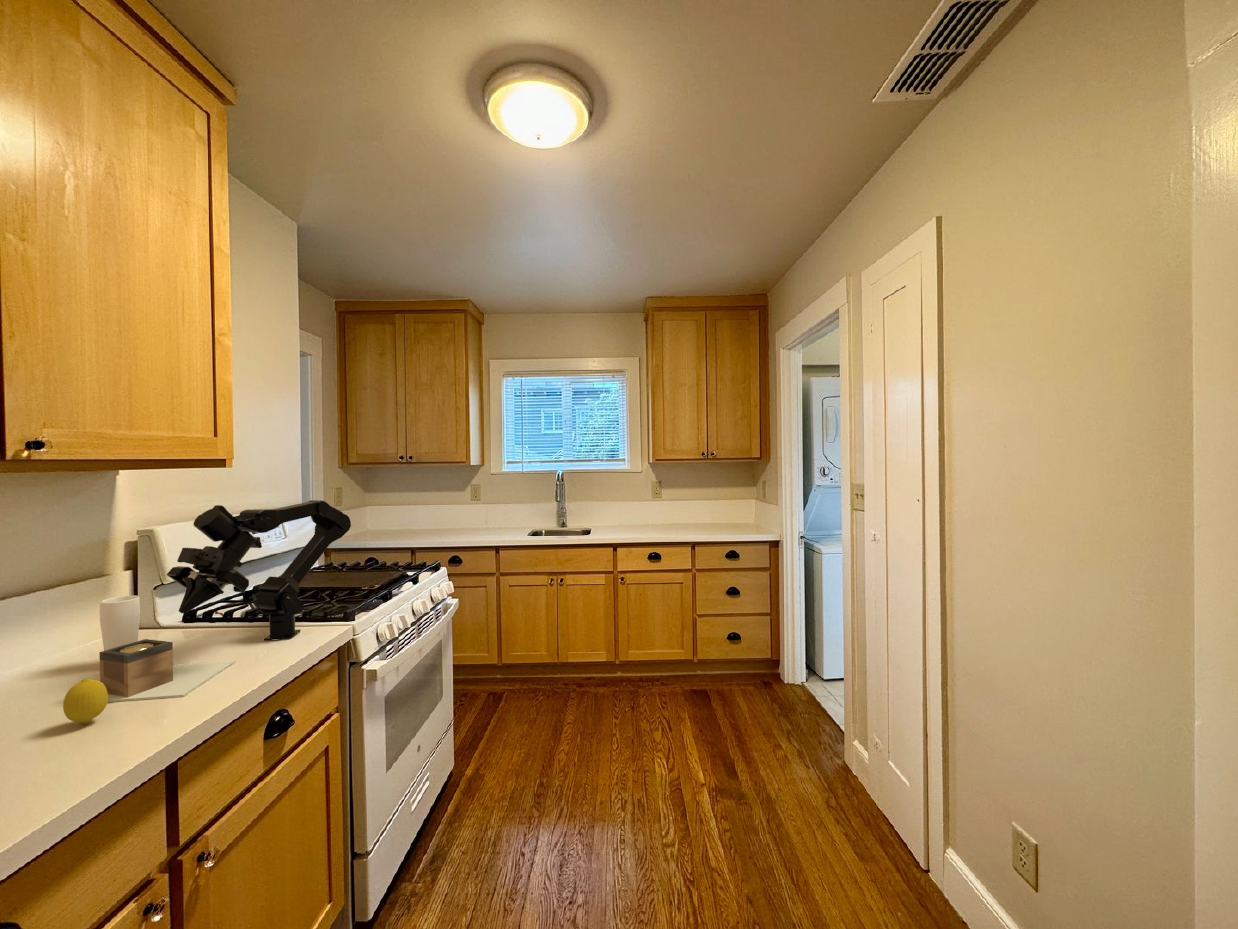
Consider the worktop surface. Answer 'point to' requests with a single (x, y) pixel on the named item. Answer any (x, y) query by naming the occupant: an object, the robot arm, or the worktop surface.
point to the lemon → (85, 701)
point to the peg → (136, 648)
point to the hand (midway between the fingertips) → (181, 612)
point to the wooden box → (136, 668)
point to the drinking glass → (119, 621)
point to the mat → (180, 681)
